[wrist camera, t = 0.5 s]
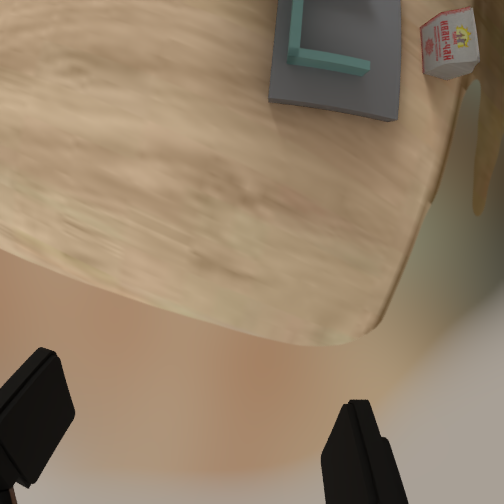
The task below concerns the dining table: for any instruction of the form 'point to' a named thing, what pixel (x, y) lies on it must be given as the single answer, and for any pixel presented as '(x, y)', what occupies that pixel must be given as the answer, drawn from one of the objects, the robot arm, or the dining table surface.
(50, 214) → the dining table surface
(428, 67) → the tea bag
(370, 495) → the robot arm
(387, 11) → the dock
